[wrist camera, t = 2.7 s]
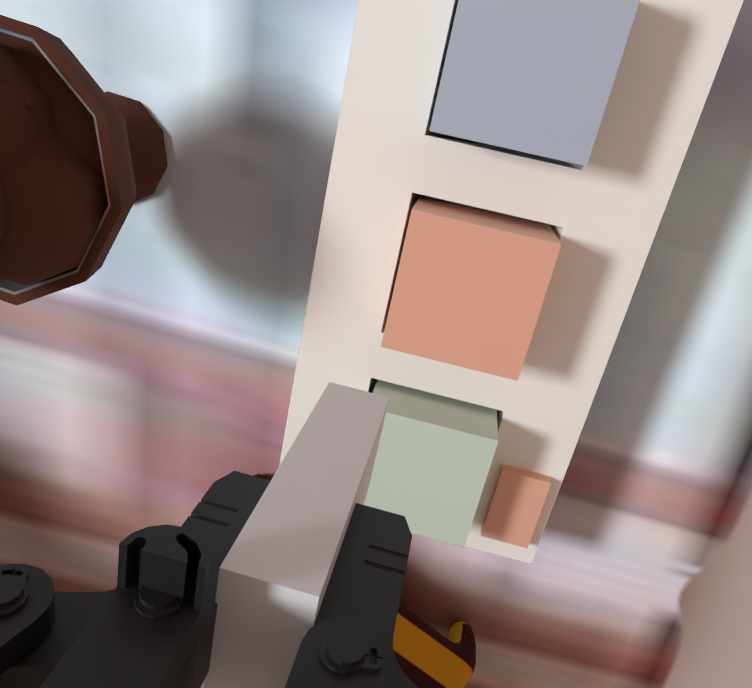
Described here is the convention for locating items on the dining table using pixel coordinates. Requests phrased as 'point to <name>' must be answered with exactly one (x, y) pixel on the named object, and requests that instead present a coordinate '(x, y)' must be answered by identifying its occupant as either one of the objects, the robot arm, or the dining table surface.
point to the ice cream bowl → (64, 164)
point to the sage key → (432, 461)
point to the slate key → (532, 73)
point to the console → (508, 196)
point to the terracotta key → (470, 286)
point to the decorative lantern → (431, 651)
